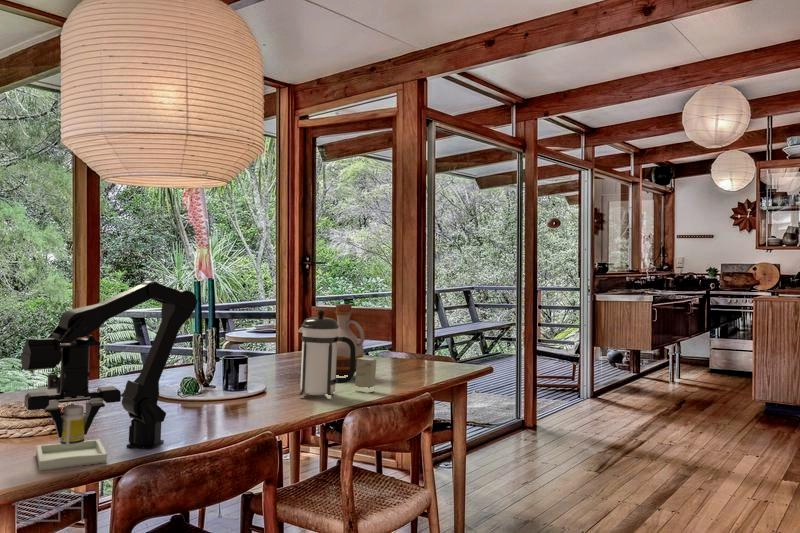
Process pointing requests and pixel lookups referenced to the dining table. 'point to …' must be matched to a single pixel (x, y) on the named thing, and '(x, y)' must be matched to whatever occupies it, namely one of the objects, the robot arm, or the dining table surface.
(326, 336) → the coffee press
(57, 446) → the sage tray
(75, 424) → the supplement bottle
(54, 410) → the robot arm
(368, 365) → the skincare box
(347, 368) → the jug
